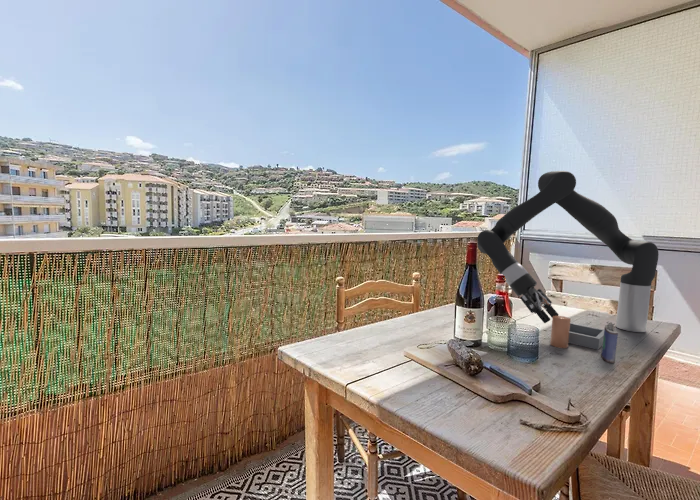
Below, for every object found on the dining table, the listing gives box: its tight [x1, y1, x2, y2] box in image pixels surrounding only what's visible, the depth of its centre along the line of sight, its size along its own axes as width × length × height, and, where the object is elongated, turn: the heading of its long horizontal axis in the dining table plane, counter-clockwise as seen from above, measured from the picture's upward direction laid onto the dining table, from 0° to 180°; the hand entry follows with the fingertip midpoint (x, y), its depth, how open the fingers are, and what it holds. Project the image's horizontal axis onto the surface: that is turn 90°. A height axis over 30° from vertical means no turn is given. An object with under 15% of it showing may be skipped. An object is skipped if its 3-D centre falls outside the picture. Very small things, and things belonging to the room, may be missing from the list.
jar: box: [549, 315, 571, 349], centre depth 120 cm, size 5×5×9 cm
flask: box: [600, 321, 619, 364], centre depth 111 cm, size 9×3×11 cm, turn 152°
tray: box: [568, 322, 604, 351], centre depth 127 cm, size 13×13×4 cm
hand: (552, 319), depth 122 cm, fingers open, 8 cm apart
